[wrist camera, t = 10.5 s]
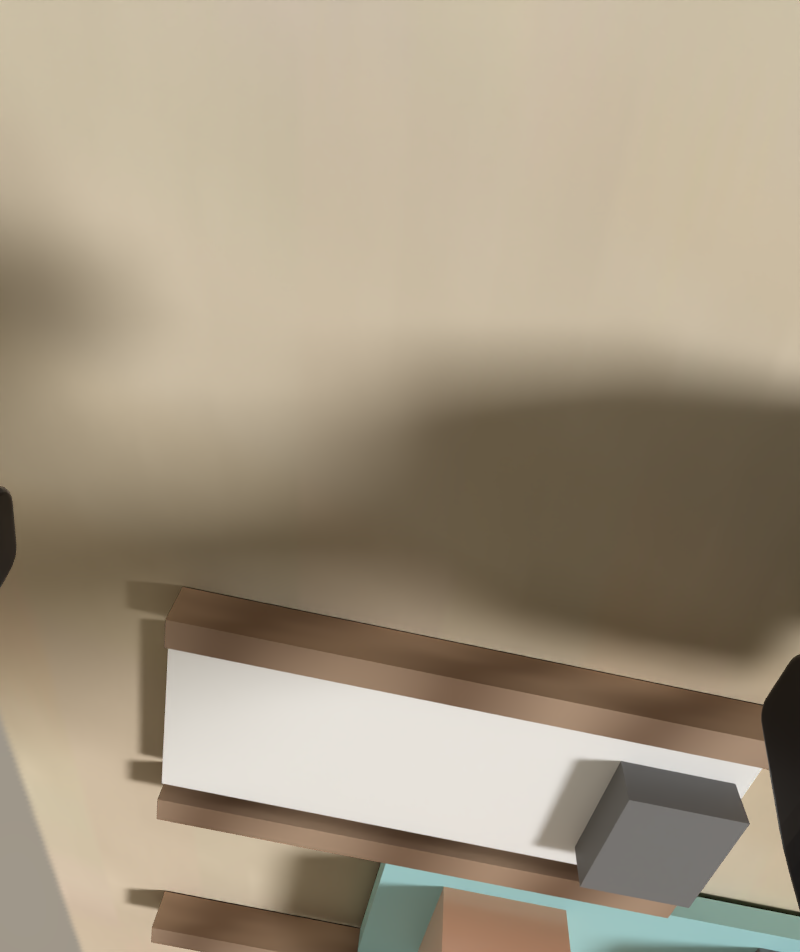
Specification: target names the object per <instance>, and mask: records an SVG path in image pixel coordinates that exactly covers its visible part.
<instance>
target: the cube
mask: <svg viewBox="0 0 800 952" xmlns="http://www.w3.org/2000/svg"><path fill="white" fill-rule="evenodd" d="M418 952H571V950H570V941H569V932H568V923H567V914H566V910H563V909H557V908H552V907H547V906H542V905H537V904H532V903H527V902H521V901H516V900H511V899H506V898H501V897H496V896H490V895H485V894H480V893H475V892H470V891H465V890H460V889H454V888H449V887H443V890H442V892H441V895H440V897H439V900H438V902H437V905H436V907H435V910H434V912H433V915H432V917H431V920H430V922H429V925H428V927H427V930H426V932H425V935H424V937H423V940H422V942H421V945H420V947H419V950H418Z"/></svg>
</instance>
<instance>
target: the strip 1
mask: <svg viewBox="0 0 800 952" xmlns="http://www.w3.org/2000/svg"><path fill="white" fill-rule="evenodd" d="M761 770H762V768H758V767H753V766H748V765H743V764H738V763H733V762H728V761H723V760H718V759H713V758H708V757H703V756H698V755H693V754H688V753H683V752H678V751H674V750H669V749H664V748H659V747H654V746H649V745H644V744H639V743H634V742H629V741H624V740H619V739H614V738H609V737H604V736H599V735H594V734H589V733H584V732H579V731H574V730H569V729H565V728H560V727H555V726H550V725H545V724H540V723H535V722H530V721H525V720H520V719H515V718H510V717H505V716H500V715H495V714H490V713H485V712H480V711H475V710H470V709H465V708H460V707H456V706H451V705H446V704H441V703H436V702H431V701H426V700H421V699H416V698H411V697H406V696H401V695H396V694H391V693H386V692H381V691H376V690H371V689H366V688H361V687H356V686H351V685H347V684H342V683H337V682H332V681H327V680H322V679H317V678H312V677H307V676H302V675H297V674H292V673H287V672H282V671H277V670H272V669H267V668H262V667H257V666H252V665H247V664H242V663H238V662H233V661H228V660H223V659H218V658H213V657H208V656H203V655H198V654H193V653H188V652H183V651H178V650H173V649H168V661H167V682H166V703H165V724H164V745H163V766H162V783H163V784H168V785H173V786H178V787H183V788H188V789H193V790H198V791H203V792H208V793H214V794H219V795H224V796H229V797H234V798H239V799H244V800H249V801H254V802H259V803H265V804H270V805H275V806H280V807H285V808H290V809H295V810H300V811H305V812H310V813H315V814H321V815H326V816H331V817H336V818H341V819H346V820H351V821H356V822H361V823H366V824H372V825H377V826H382V827H387V828H392V829H397V830H402V831H407V832H412V833H417V834H423V835H428V836H433V837H438V838H443V839H448V840H453V841H458V842H463V843H468V844H474V845H479V846H484V847H489V848H494V849H499V850H504V851H509V852H514V853H519V854H525V855H530V856H535V857H540V858H545V859H550V860H555V861H560V862H565V863H570V864H576V865H577V869H578V877H579V884H580V887H583V888H588V889H594V890H599V891H604V892H609V893H614V894H619V895H624V896H629V897H635V898H640V899H645V900H650V901H655V902H660V903H665V904H670V905H676V906H681V907H686V908H689V907H690V906H691V904H692V903H693V902H694V900H695V899H696V898H697V896H698V895H699V893H700V892H701V891H702V889H703V888H704V886H705V885H706V884H707V882H708V881H709V880H710V878H711V877H712V875H713V874H714V873H715V871H716V870H717V868H718V867H719V866H720V864H721V863H722V862H723V860H724V859H725V857H726V856H727V855H728V853H729V852H730V850H731V849H732V848H733V846H734V845H735V844H736V842H737V841H738V839H739V838H740V837H741V835H742V834H743V832H744V831H745V830H746V828H747V827H748V826H749V824H750V823H749V821H748V818H747V815H746V812H745V809H744V807H743V804H742V801H741V798H742V797H743V796H744V794H745V793H746V791H747V790H748V788H749V787H750V785H751V784H752V783H753V781H754V780H755V778H756V777H757V775H758V774H759V772H760V771H761Z"/></svg>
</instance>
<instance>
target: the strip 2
mask: <svg viewBox="0 0 800 952" xmlns="http://www.w3.org/2000/svg"><path fill="white" fill-rule="evenodd" d="M443 887H449V888H454V889H460V890H465V891H470V892H475V893H480V894H485V895H490V896H496V897H501V898H506V899H511V900H516V901H521V902H527V903H532V904H537V905H542V906H547V907H552V908H557V909H563V910H566V914H567V923H568V932H569V941H570V950H571V952H800V917H799V916H794V915H788V914H783V913H778V912H773V911H768V910H763V909H758V908H753V907H748V906H743V905H737V904H732V903H727V902H722V901H717V900H712V899H707V898H702V897H697V898H696V899H695V900H694V902H693V903H692V904H691V906H690V907H689V908H686V907H681V906H676V908H675V909H674V910H673V912H672V913H671V915H670V916H669V918H663V917H658V916H653V915H648V914H643V913H638V912H632V911H627V910H622V909H617V908H612V907H607V906H602V905H596V904H591V903H586V902H581V901H576V900H571V899H566V898H560V897H555V896H550V895H545V894H540V893H535V892H530V891H524V890H519V889H514V888H509V887H504V886H499V885H494V884H489V883H483V882H478V881H473V880H468V879H463V878H458V877H453V876H447V875H442V874H437V873H432V872H427V871H422V870H417V869H411V868H406V867H401V866H396V865H391V864H386V863H381V864H380V867H379V871H378V874H377V877H376V880H375V883H374V886H373V890H372V893H371V896H370V899H369V902H368V906H367V909H366V912H365V915H364V918H363V921H362V925H361V928H360V935H359V943H358V951H357V952H418V950H419V947H420V945H421V942H422V940H423V937H424V935H425V932H426V930H427V927H428V925H429V922H430V920H431V917H432V915H433V912H434V910H435V907H436V905H437V902H438V900H439V897H440V895H441V892H442V890H443Z"/></svg>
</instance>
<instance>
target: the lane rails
mask: <svg viewBox="0 0 800 952" xmlns="http://www.w3.org/2000/svg"><path fill="white" fill-rule="evenodd" d="M164 648H168V649H173V650H178V651H183V652H188V653H193V654H198V655H203V656H208V657H213V658H218V659H223V660H228V661H233V662H238V663H242V664H247V665H252V666H257V667H262V668H267V669H272V670H277V671H282V672H287V673H292V674H297V675H302V676H307V677H312V678H317V679H322V680H327V681H332V682H337V683H342V684H347V685H351V686H356V687H361V688H366V689H371V690H376V691H381V692H386V693H391V694H396V695H401V696H406V697H411V698H416V699H421V700H426V701H431V702H436V703H441V704H446V705H451V706H456V707H460V708H465V709H470V710H475V711H480V712H485V713H490V714H495V715H500V716H505V717H510V718H515V719H520V720H525V721H530V722H535V723H540V724H545V725H550V726H555V727H560V728H565V729H569V730H574V731H579V732H584V733H589V734H594V735H599V736H604V737H609V738H614V739H619V740H624V741H629V742H634V743H639V744H644V745H649V746H654V747H659V748H664V749H669V750H674V751H678V752H683V753H688V754H693V755H698V756H703V757H708V758H713V759H718V760H723V761H728V762H733V763H738V764H743V765H748V766H753V767H758V768H763V769H768V770H769V765H768V759H767V753H766V747H765V742H764V736H763V730H762V723H761V712H762V707H763V705H758V704H753V703H748V702H743V701H738V700H733V699H729V698H724V697H719V696H714V695H709V694H704V693H699V692H694V691H689V690H685V689H680V688H675V687H670V686H665V685H660V684H655V683H650V682H645V681H641V680H636V679H631V678H626V677H621V676H616V675H611V674H606V673H601V672H597V671H592V670H587V669H582V668H577V667H572V666H567V665H562V664H557V663H553V662H548V661H543V660H538V659H533V658H528V657H523V656H518V655H513V654H509V653H504V652H499V651H494V650H489V649H484V648H479V647H474V646H469V645H465V644H460V643H455V642H450V641H445V640H440V639H435V638H430V637H425V636H421V635H416V634H411V633H406V632H401V631H396V630H391V629H386V628H381V627H377V626H372V625H367V624H362V623H357V622H352V621H347V620H342V619H337V618H333V617H328V616H323V615H318V614H313V613H308V612H303V611H298V610H293V609H289V608H284V607H279V606H274V605H269V604H264V603H259V602H254V601H249V600H245V599H240V598H235V597H230V596H225V595H220V594H215V593H210V592H205V591H201V590H196V589H191V588H186V587H182V589H181V591H180V593H179V595H178V596H177V598H176V600H175V602H174V604H173V606H172V608H171V610H170V612H169V614H168V616H167V618H166V620H165V641H164ZM157 819H160V820H165V821H170V822H175V823H180V824H185V825H190V826H196V827H201V828H206V829H211V830H216V831H221V832H226V833H232V834H237V835H242V836H247V837H252V838H257V839H262V840H267V841H273V842H278V843H283V844H288V845H293V846H298V847H303V848H309V849H314V850H319V851H324V852H329V853H334V854H339V855H345V856H350V857H355V858H360V859H365V860H370V861H375V862H381V863H386V864H391V865H396V866H401V867H406V868H411V869H417V870H422V871H427V872H432V873H437V874H442V875H447V876H453V877H458V878H463V879H468V880H473V881H478V882H483V883H489V884H494V885H499V886H504V887H509V888H514V889H519V890H524V891H530V892H535V893H540V894H545V895H550V896H555V897H560V898H566V899H571V900H576V901H581V902H586V903H591V904H596V905H602V906H607V907H612V908H617V909H622V910H627V911H632V912H638V913H643V914H648V915H653V916H658V917H663V918H669V916H670V915H671V913H672V912H673V910H674V909H675V908H676V905H670V904H665V903H660V902H655V901H650V900H645V899H640V898H635V897H629V896H624V895H619V894H614V893H609V892H604V891H599V890H594V889H588V888H583V887H580V884H579V877H578V869H577V865H576V864H570V863H565V862H560V861H555V860H550V859H545V858H540V857H535V856H530V855H525V854H519V853H514V852H509V851H504V850H499V849H494V848H489V847H484V846H479V845H474V844H468V843H463V842H458V841H453V840H448V839H443V838H438V837H433V836H428V835H423V834H417V833H412V832H407V831H402V830H397V829H392V828H387V827H382V826H377V825H372V824H366V823H361V822H356V821H351V820H346V819H341V818H336V817H331V816H326V815H321V814H315V813H310V812H305V811H300V810H295V809H290V808H285V807H280V806H275V805H270V804H265V803H259V802H254V801H249V800H244V799H239V798H234V797H229V796H224V795H219V794H214V793H208V792H203V791H198V790H193V789H188V788H183V787H178V786H173V785H168V784H164V785H163V787H162V790H161V792H160V795H159V797H158V800H157ZM359 935H360V929H359V928H354V927H348V926H343V925H338V924H333V923H328V922H322V921H317V920H312V919H307V918H302V917H296V916H291V915H286V914H281V913H275V912H270V911H265V910H260V909H255V908H249V907H244V906H239V905H234V904H228V903H223V902H218V901H213V900H208V899H202V898H197V897H192V896H187V895H181V894H176V893H171V892H166V891H165V892H164V895H163V898H162V901H161V904H160V906H159V909H158V912H157V915H156V918H155V920H154V923H153V926H152V937H151V942H153V943H158V944H163V945H169V946H174V947H179V948H185V949H190V950H195V951H200V952H357V951H358V943H359Z"/></svg>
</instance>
